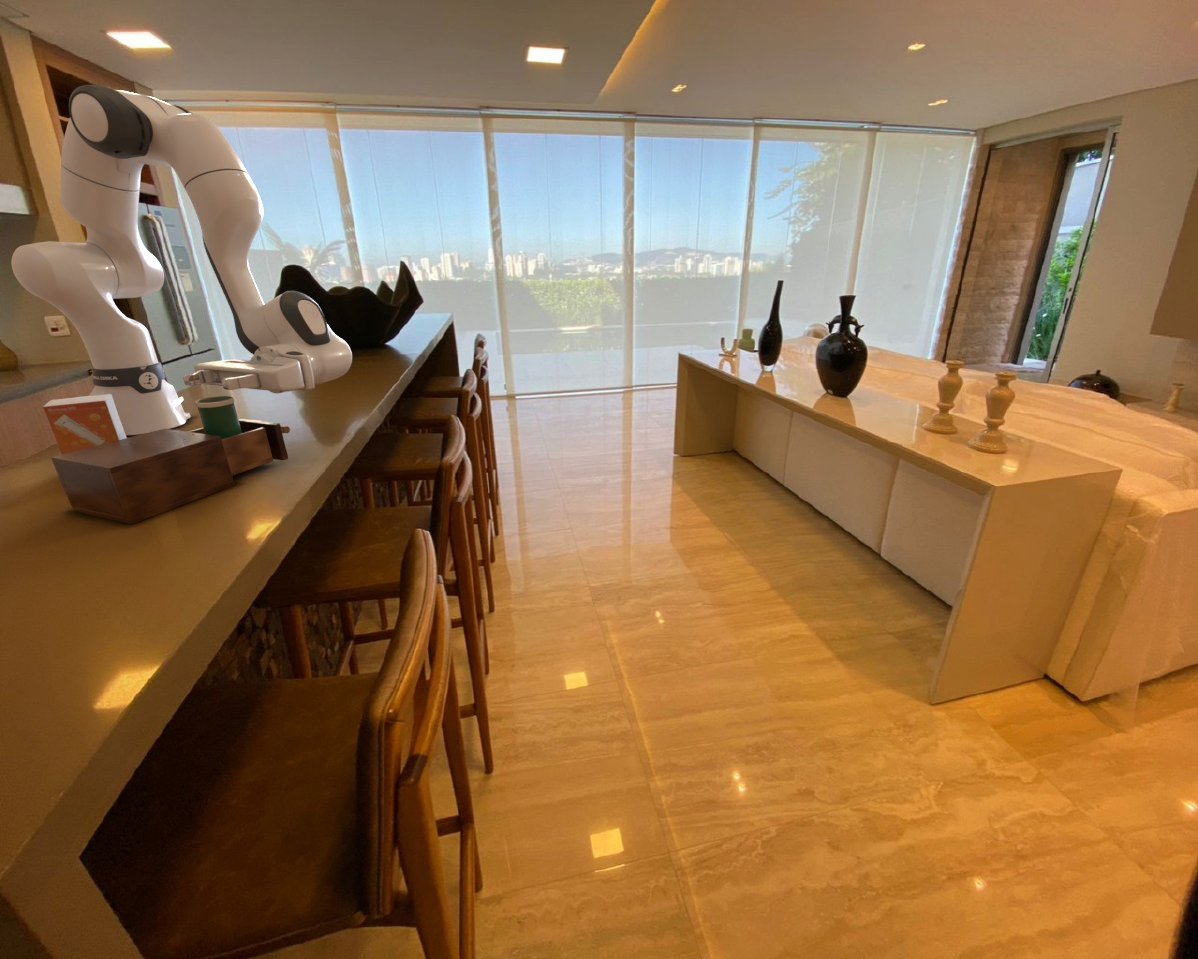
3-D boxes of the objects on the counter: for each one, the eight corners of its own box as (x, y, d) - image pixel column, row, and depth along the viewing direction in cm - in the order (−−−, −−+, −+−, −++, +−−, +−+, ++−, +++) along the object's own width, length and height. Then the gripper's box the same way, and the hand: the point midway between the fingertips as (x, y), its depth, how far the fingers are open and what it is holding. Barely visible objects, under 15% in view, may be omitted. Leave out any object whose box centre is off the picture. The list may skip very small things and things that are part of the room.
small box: (71, 479, 92) (40, 406, 87) (78, 469, 96) (50, 399, 92) (131, 470, 96) (105, 399, 91) (135, 460, 101) (111, 393, 96)
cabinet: (180, 475, 93) (165, 428, 90) (235, 485, 89) (221, 436, 85) (73, 511, 80) (50, 457, 76) (131, 524, 75) (109, 468, 72)
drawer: (260, 445, 106) (252, 412, 103) (307, 451, 102) (299, 417, 99) (161, 477, 90) (147, 439, 87) (211, 486, 86) (199, 447, 83)
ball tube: (206, 463, 93) (187, 401, 89) (235, 453, 98) (218, 395, 94) (227, 466, 91) (209, 404, 87) (256, 456, 96) (240, 397, 92)
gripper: (234, 349, 103) (158, 360, 91) (314, 354, 96) (243, 367, 84) (243, 381, 105) (170, 396, 93) (321, 389, 99) (253, 406, 87)
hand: (205, 383), depth 89 cm, fingers open, 8 cm apart
